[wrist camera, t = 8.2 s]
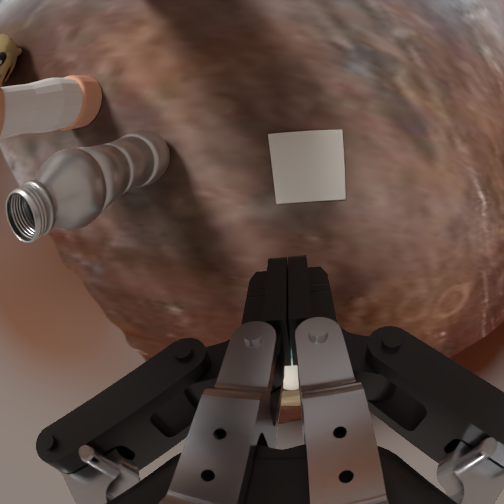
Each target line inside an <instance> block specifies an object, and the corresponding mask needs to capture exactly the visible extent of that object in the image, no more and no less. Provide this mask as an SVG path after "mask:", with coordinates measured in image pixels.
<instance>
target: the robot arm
mask: <svg viewBox="0 0 504 504" xmlns="http://www.w3.org/2000/svg"><path fill="white" fill-rule="evenodd" d="M291 350H292V360H293V365H297V367H298V382H299V394H300V405H301V416H302V429H303V445H300V446H297V447H293V448H289V449H284V450H279V449H276V445H277V426H278V420H279V413H280V406H281V399H282V392H283V380H284V368H285V366H291ZM369 411H370V412H372V413H373V414H374V415H375V416H377V417H378V418H379V419H380V420H382V421H383V422H384V423H386V424H387V425H388V426H389V427H391V428H392V429H393V430H395V431H396V432H397V433H398V434H400V435H401V436H402V437H404V438H405V439H406V440H408V441H409V442H410V443H412V444H413V445H414V446H416V447H417V448H418V449H420V450H421V451H422V452H424V453H425V454H426V455H428V456H429V457H431V458H432V459H433V460H435V461H436V462H437V463H439V465H438V468H437V479H438V482H439V483H440V485H441V486H442V487H443V488H444V489H445V491H446V493H447V495H446V494H444V493H443V492H442V491H440V490H439V489H438V488H436V487H435V486H434V485H433V484H431V483H430V482H429V481H427V480H426V479H425V478H424V477H423V476H421V475H420V474H419V473H418V472H416V471H415V470H414V469H413V468H412V467H410V466H409V465H408V464H407V463H406V462H404V461H403V460H402V459H401V458H400V457H398V456H397V455H396V454H394V453H392V452H391V451H389V450H387V449H384V448H382V447H379V446H377V442H376V438H375V433H374V429H373V424H372V420H371V416H370V412H369ZM186 437H187V439H186V441H185V445H184V447H183V450H182V453H180V454H178V455H176V456H174V457H173V458H171V459H170V460H169V461H167V462H166V463H165V464H163V465H162V466H161V467H159V468H158V469H157V470H155V471H154V472H153V473H151V474H150V475H148V476H147V477H145V478H144V479H143V480H141V481H140V477H139V470H141V469H142V468H143V467H145V466H147V465H148V464H149V463H151V462H153V461H154V460H155V459H157V458H158V457H159V456H161V455H163V454H164V453H165V452H167V451H168V450H170V449H171V448H172V447H174V446H175V445H177V444H178V443H179V442H181V440H183V439H185V438H186ZM36 450H37V453H38V455H39V457H40V458H41V459H42V460H43V461H45V462H46V463H48V464H50V465H51V466H53V467H55V468H56V469H58V470H59V471H60V472H61V473H62V475H63V477H64V479H65V481H66V483H67V486H68V488H69V490H70V492H71V494H72V496H73V498H74V500H75V502H76V504H494V503H495V501H496V500H497V498H498V497H499V495H500V493H501V492H502V490H503V488H504V392H502V391H501V390H499V389H498V388H496V387H494V386H493V385H491V384H490V383H488V382H486V381H485V380H483V379H482V378H480V377H478V376H477V375H475V374H474V373H472V372H471V371H469V370H467V369H466V368H464V367H463V366H461V365H459V364H458V363H456V362H455V361H453V360H451V359H450V358H448V357H447V356H445V355H443V354H442V353H440V352H439V351H437V350H435V349H434V348H432V347H430V346H429V345H427V344H426V343H424V342H422V341H421V340H419V339H417V338H416V337H414V336H413V335H411V334H409V333H408V332H406V331H404V330H402V329H400V328H398V327H392V326H388V327H382V328H379V329H377V330H375V331H374V332H373V333H372V334H371V336H370V337H368V336H361V335H355V334H351V333H349V332H347V331H345V330H344V329H342V328H341V327H340V326H339V324H338V322H337V320H336V315H335V310H334V305H333V300H332V295H331V290H330V285H329V280H328V275H327V273H326V272H325V271H324V270H323V269H322V268H321V267H310V268H308V267H307V259H306V255H304V256H292V257H288V263H287V257H282V258H270V259H268V267H267V271H262V272H256V273H255V274H254V275H253V277H252V278H251V279H250V281H249V287H248V292H247V298H246V303H245V308H244V313H243V318H242V324H241V325H240V326H239V327H238V328H236V329H235V330H234V332H233V333H232V335H231V338H230V339H229V340H228V341H226V342H223V343H220V344H216V345H212V346H208V347H205V346H204V344H203V343H202V342H201V341H199V340H197V339H194V338H184V339H180V340H178V341H175V342H174V343H172V344H171V345H169V346H168V347H166V348H165V349H164V350H162V351H161V352H159V353H158V354H156V355H155V356H154V357H152V358H151V359H149V360H148V361H146V362H145V363H144V364H142V365H141V366H139V367H138V368H136V369H135V370H133V371H132V372H130V373H129V374H127V375H126V376H124V377H123V378H122V379H120V380H119V381H117V382H116V383H114V384H113V385H111V386H110V387H108V388H107V389H105V390H104V391H102V392H101V393H99V394H98V395H96V396H95V397H93V398H92V399H90V400H89V401H87V402H85V403H84V404H82V405H81V406H79V407H78V408H76V409H75V410H73V411H71V412H70V413H68V414H67V415H65V416H64V417H62V418H61V419H59V420H57V421H56V422H54V423H53V424H51V425H49V426H48V427H46V428H45V429H43V430H42V432H41V433H40V434H39V436H38V438H37V442H36Z"/></svg>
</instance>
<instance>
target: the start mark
mask: <svg viewBox="0 0 504 504" xmlns="http://www.w3.org/2000/svg"><path fill="white" fill-rule="evenodd" d="M268 139H269V147H270V155H271V163H272V171H273V180H274V189H275V197H276V204H283V203H296V202H311V201H326V200H344V199H346V193H345V165H344V148H343V134H342V129H340V130H313V131H297V132H284V133H274V134H268Z"/></svg>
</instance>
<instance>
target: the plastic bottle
mask: <svg viewBox="0 0 504 504" xmlns="http://www.w3.org/2000/svg"><path fill="white" fill-rule="evenodd" d="M169 161H170V152H169V148H168V145H167V144H166V142H165V140H164V139H163V138H162V137H161V136H159V135H158V134H156V133H154V132H151V131H145V130H137V131H133V132H131V133H129V134H126V135H124V136H122V137H121V138H120V139H117V140H115V141H112V142H110V143H107V144H102V145H96V146H92V147H78V148H68V149H63V150H60V151H57V152H56V153H54V154H53V155H52V156H50V157H49V158H48V159H47V160H46V161H45V162H44V163H43V164H42V166H41V167H40V169H39V171H38V173H37V175H36V177H35V179H34V180H31V181H28V182H26V183H24V184H23V185H22V186H21V187H19V188H17V189H15V190H13V191H12V192H11V193H10V194H9V195H8V197H7V199H6V216H7V220H8V223H9V225H10V227H11V229H12V231H13V233H14V234H15V236H16V237H17V238H18V239H19V240H21V241H22V242H24V243H31V242H33V241H35V240H36V239H38V238H39V237H40V236H41V235H45V234H47V233H48V232H50V231H51V230H52V228H56V229H63V230H75V229H79V228H83V227H85V226H87V225H88V224H90V223H91V222H92V221H93V220H95V219H96V218H97V217H98V216H99V215H100V214H101V213H102V212H103V211H104V210H105V209H106V208H107V207H108V206H109V205H110V204H111V203H112V202H113V201H114V200H116V199H117V198H118V197H120V196H121V195H123V194H124V193H125V192H128V191H130V190H133V189H135V188H139V187H144V186H147V185H150V184H152V183H154V182H156V181H157V180H158V179H159V178H160V177H161V176H162V175H163V174H164V173H165V171H166V170H167V168H168V165H169Z"/></svg>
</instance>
